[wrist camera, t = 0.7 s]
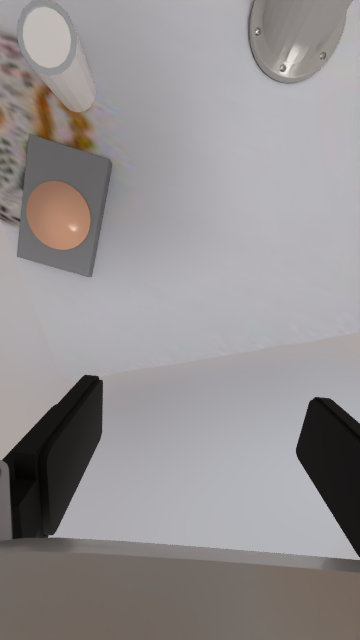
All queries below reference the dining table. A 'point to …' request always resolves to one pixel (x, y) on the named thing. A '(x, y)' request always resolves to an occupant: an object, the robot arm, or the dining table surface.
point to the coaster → (58, 215)
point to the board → (81, 174)
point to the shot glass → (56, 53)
